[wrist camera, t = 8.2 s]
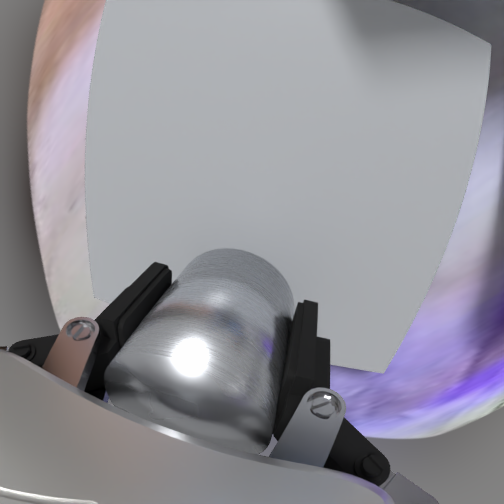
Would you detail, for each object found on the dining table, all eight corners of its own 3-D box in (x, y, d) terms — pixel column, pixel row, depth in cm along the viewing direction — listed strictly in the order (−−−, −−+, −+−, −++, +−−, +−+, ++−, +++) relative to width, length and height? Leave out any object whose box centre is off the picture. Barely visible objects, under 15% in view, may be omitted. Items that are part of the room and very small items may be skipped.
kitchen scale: (467, 51, 10) (500, 40, 7) (380, 340, 18) (387, 380, 15) (134, -1, 12) (99, -17, 9) (114, 273, 20) (85, 300, 17)
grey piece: (307, 265, 11) (292, 392, 6) (280, 358, 14) (254, 473, 8) (180, 235, 12) (89, 328, 7) (177, 331, 14) (118, 428, 9)
